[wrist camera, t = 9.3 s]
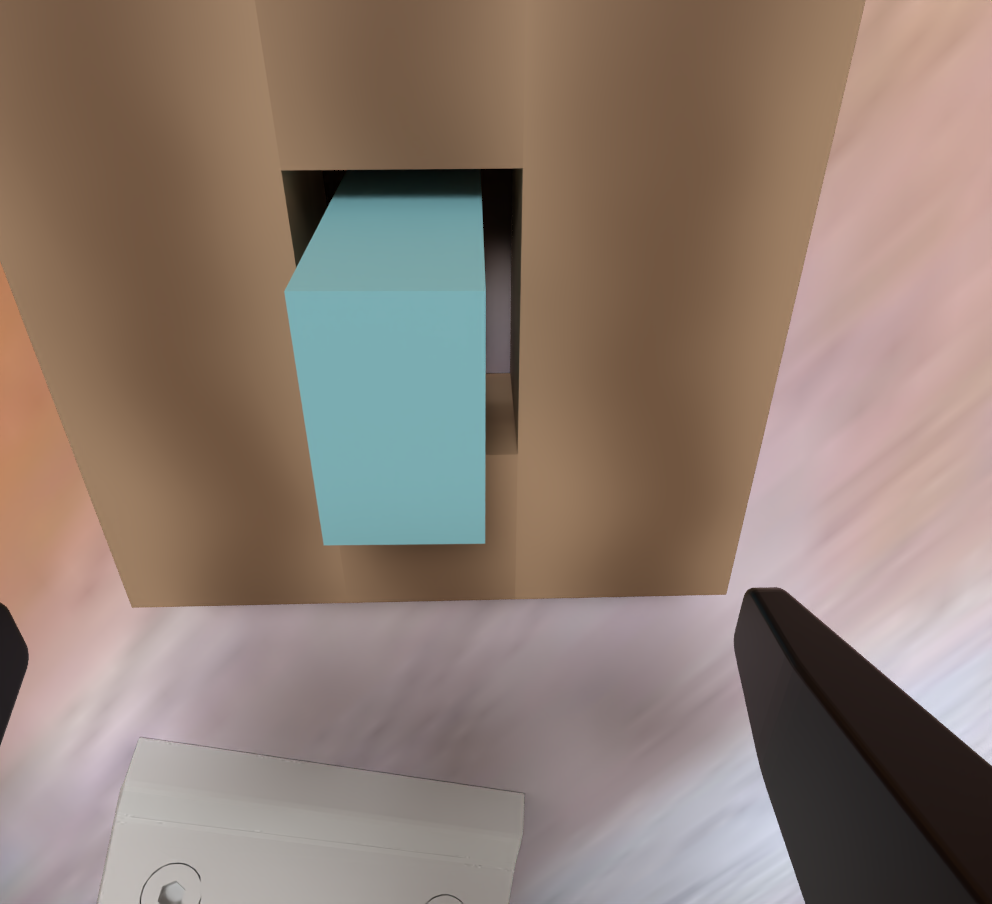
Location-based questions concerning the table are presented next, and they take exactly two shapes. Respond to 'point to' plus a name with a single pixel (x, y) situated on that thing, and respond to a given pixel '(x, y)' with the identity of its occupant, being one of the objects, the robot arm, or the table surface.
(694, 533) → the socket block
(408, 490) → the keyed peg
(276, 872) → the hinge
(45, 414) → the table surface
